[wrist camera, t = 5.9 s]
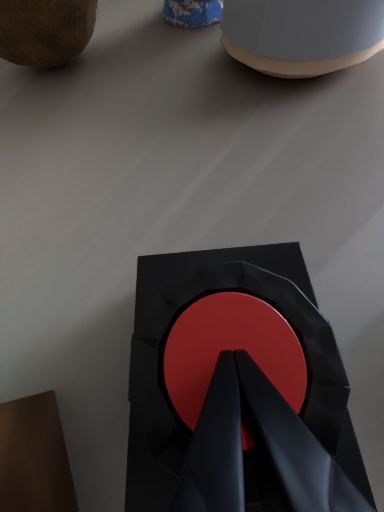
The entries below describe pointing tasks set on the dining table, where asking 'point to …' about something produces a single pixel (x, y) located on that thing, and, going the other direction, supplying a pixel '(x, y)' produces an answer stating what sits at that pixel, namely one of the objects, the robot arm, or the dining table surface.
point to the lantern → (192, 12)
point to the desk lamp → (302, 34)
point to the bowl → (45, 30)
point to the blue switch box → (34, 457)
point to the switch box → (152, 363)
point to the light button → (230, 338)
